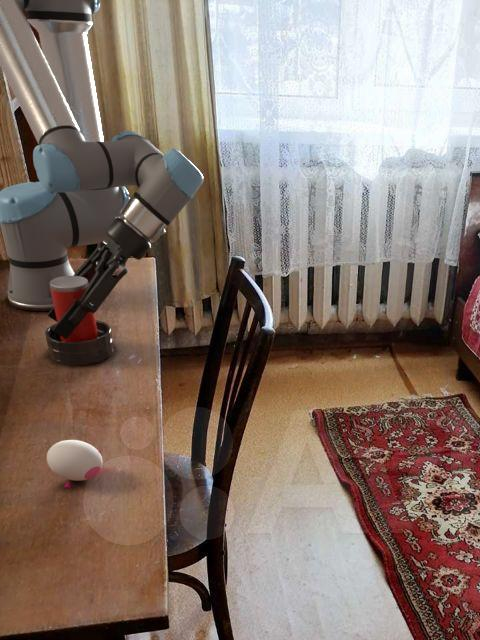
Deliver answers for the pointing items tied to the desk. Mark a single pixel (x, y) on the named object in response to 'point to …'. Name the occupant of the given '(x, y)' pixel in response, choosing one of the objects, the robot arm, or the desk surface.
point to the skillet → (81, 347)
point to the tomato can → (63, 298)
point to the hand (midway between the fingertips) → (56, 326)
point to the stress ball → (74, 460)
